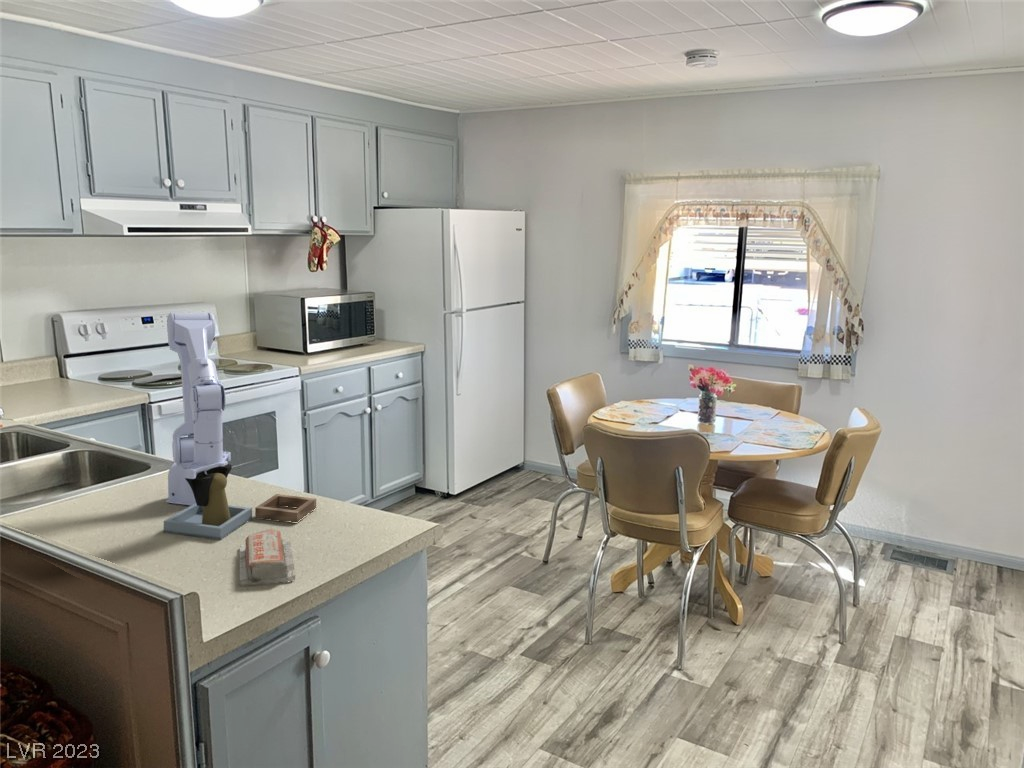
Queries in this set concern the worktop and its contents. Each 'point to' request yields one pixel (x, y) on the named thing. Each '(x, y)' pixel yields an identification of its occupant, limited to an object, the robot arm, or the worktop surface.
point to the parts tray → (192, 524)
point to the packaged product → (266, 559)
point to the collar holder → (271, 512)
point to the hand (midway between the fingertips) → (209, 501)
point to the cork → (216, 502)
